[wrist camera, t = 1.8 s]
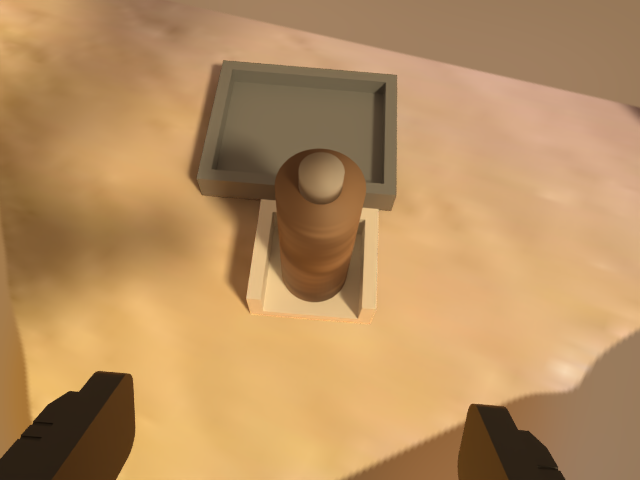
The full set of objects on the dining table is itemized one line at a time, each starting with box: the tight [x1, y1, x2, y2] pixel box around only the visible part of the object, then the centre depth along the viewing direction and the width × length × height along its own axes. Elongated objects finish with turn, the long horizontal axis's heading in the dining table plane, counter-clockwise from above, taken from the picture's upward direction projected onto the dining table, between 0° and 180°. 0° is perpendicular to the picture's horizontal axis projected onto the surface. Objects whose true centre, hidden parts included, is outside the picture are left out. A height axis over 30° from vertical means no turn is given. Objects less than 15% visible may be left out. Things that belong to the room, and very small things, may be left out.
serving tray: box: [197, 60, 397, 211], centre depth 43 cm, size 16×13×2 cm
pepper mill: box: [275, 149, 366, 302], centre depth 31 cm, size 5×5×13 cm
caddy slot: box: [246, 199, 379, 324], centre depth 37 cm, size 9×8×4 cm
